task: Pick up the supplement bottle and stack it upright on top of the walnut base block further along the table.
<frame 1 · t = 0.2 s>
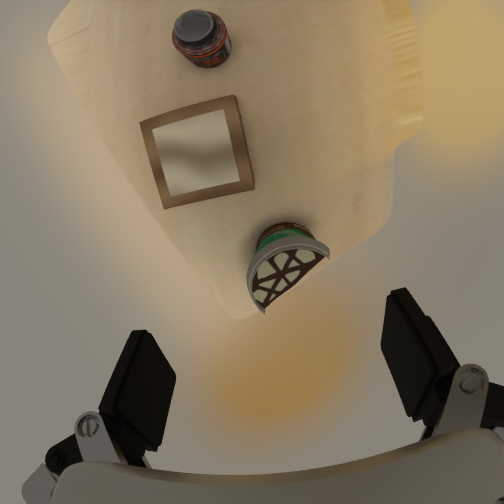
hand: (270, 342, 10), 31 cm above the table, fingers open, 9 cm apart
walnut base: (203, 148, 36), on the table
supplement bottle: (210, 50, 29), on the table
food container: (273, 238, 42), on the table
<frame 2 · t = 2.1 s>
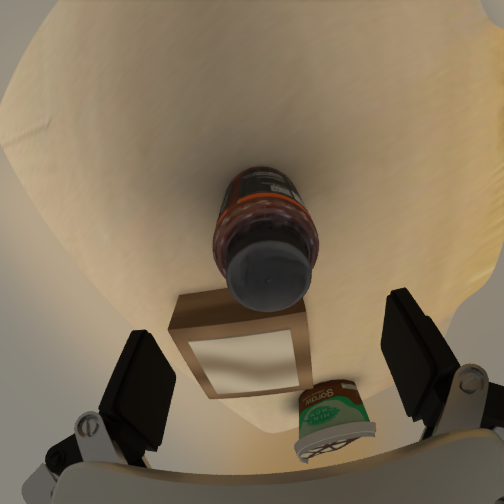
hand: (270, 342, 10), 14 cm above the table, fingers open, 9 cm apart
walnut base: (249, 330, 29), on the table
supplement bottle: (261, 199, 23), on the table
food container: (317, 389, 36), on the table
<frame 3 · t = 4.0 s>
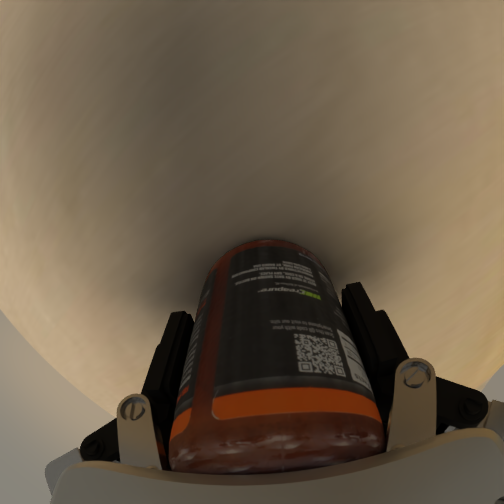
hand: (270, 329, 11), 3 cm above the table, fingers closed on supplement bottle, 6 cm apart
supplement bottle: (267, 289, 13), on the table, touching gripper
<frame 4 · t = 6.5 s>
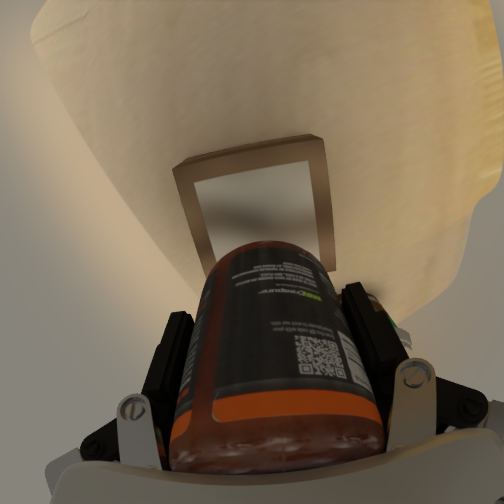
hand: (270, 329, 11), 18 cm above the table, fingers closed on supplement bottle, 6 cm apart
walnut base: (260, 203, 27), on the table
supplement bottle: (268, 289, 13), point 15 cm above the table, touching gripper
food container: (335, 307, 34), on the table
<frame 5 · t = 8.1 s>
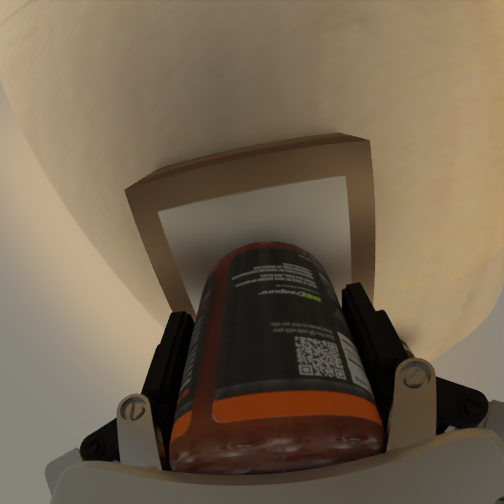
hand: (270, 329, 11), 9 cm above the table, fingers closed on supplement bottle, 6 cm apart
walnut base: (264, 233, 19), on the table
supplement bottle: (267, 290, 13), point 7 cm above the table, touching gripper
when the fingers open (8 cm above the table, at t = 9.1 s): supplement bottle stays where it is, resting on walnut base.
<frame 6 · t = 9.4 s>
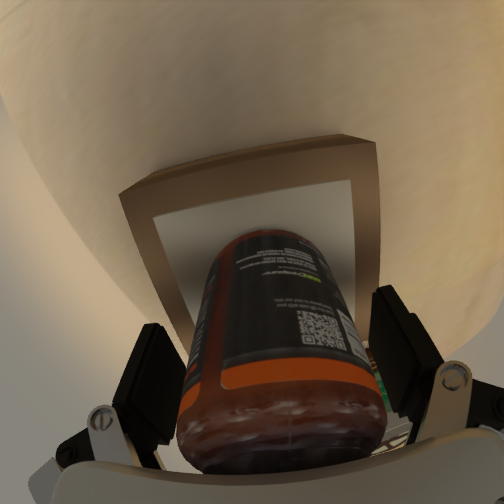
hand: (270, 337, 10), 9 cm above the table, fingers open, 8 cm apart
walnut base: (264, 238, 18), on the table
supplement bottle: (269, 278, 14), point 5 cm above the table, touching walnut base
food container: (358, 362, 25), on the table
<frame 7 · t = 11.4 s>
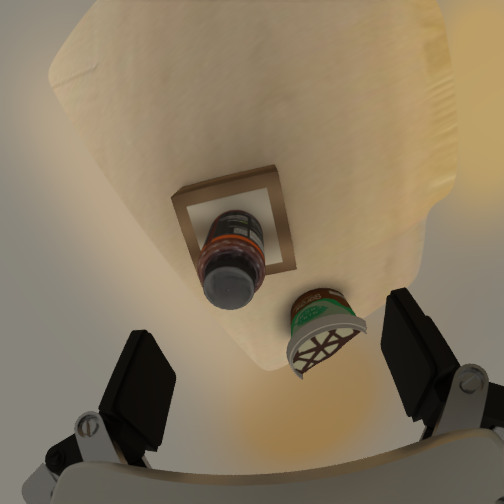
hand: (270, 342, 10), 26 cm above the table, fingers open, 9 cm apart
walnut base: (238, 219, 36), on the table
supplement bottle: (236, 232, 31), point 5 cm above the table, touching walnut base
food container: (307, 302, 42), on the table
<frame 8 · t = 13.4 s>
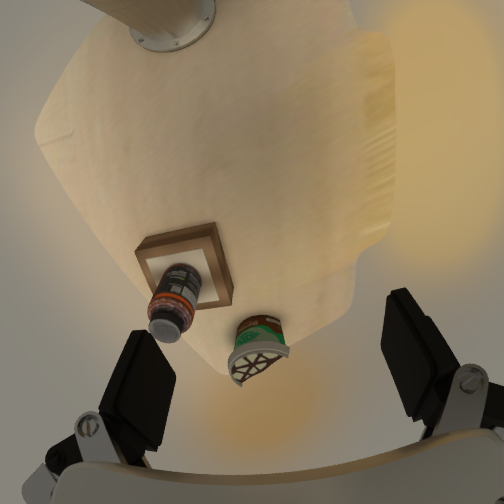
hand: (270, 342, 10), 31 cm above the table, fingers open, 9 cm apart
walnut base: (189, 262, 45), on the table
supplement bottle: (183, 278, 40), point 5 cm above the table, touching walnut base
food container: (250, 325, 51), on the table
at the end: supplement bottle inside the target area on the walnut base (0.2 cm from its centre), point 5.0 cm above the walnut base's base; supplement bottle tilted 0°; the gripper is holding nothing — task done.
